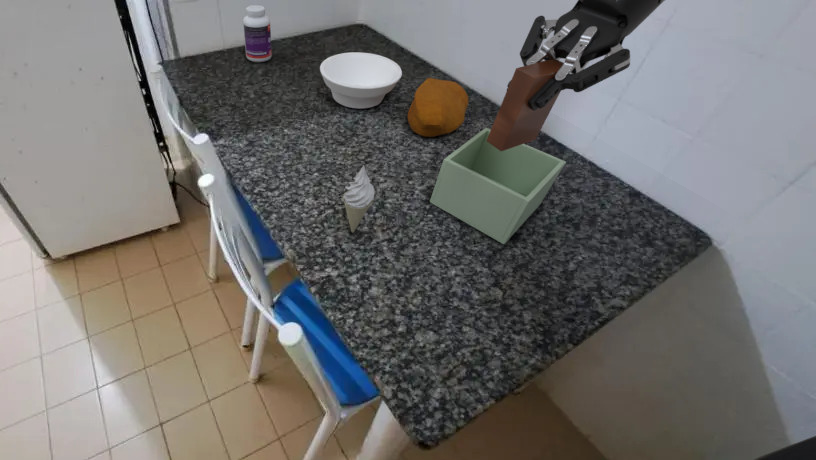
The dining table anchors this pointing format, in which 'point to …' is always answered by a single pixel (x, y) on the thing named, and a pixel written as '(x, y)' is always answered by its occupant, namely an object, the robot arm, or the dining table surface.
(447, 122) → the bread
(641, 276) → the dining table surface
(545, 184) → the trash bin
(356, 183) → the ice cream cone
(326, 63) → the bowl
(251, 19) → the pill bottle
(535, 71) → the chocolate bar
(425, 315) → the dining table surface
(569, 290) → the dining table surface
